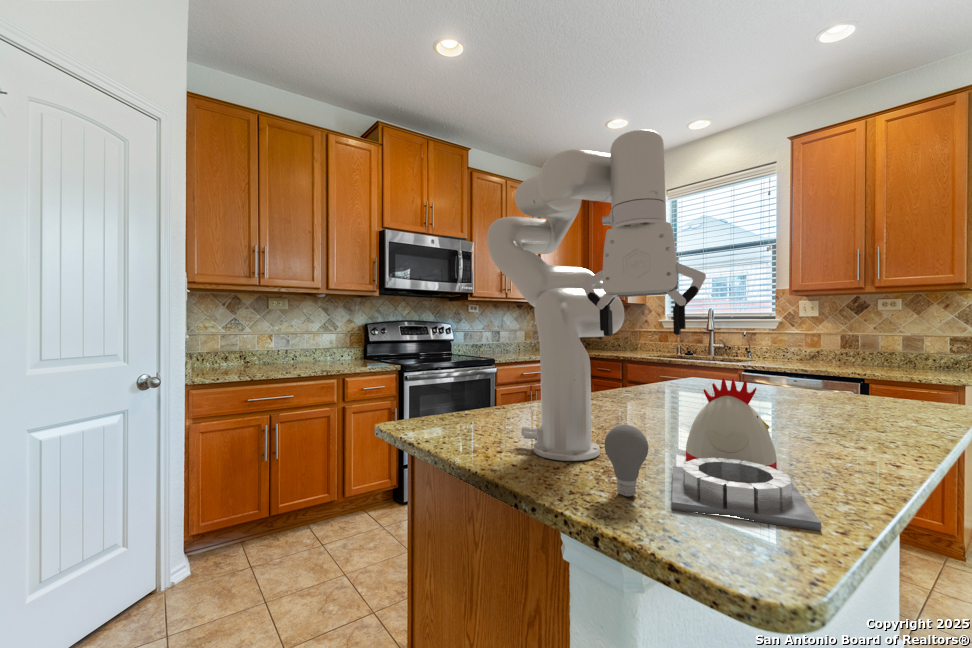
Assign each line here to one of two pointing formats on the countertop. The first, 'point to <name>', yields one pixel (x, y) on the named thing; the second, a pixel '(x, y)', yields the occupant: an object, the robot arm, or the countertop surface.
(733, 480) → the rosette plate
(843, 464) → the countertop surface
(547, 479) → the countertop surface
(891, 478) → the countertop surface
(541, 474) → the countertop surface
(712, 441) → the kitchen timer
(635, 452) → the light bulb
